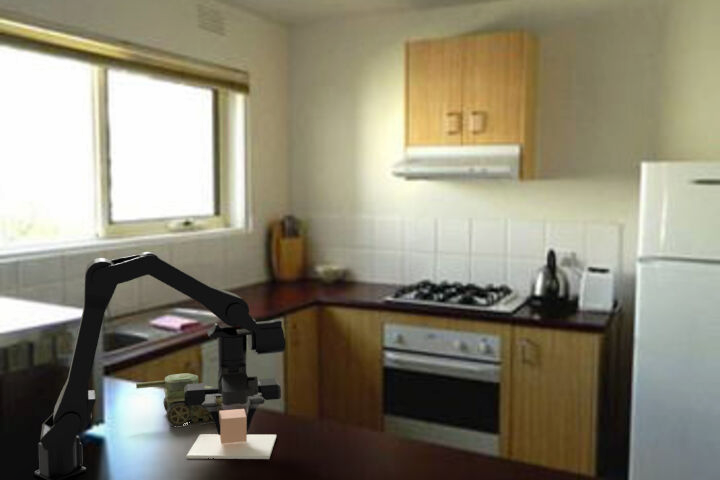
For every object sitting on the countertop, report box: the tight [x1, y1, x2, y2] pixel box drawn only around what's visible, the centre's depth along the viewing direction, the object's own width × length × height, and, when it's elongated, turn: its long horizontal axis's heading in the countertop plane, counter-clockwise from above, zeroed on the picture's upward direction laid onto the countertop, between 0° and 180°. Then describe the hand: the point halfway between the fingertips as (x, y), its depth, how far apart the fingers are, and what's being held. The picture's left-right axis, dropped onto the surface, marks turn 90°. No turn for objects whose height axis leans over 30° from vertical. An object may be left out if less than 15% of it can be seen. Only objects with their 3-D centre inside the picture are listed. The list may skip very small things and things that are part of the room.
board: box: [186, 433, 277, 460], centre depth 136 cm, size 16×11×1 cm
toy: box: [136, 372, 224, 428], centre depth 152 cm, size 10×18×10 cm, turn 111°
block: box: [219, 408, 248, 444], centre depth 136 cm, size 5×5×5 cm
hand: (232, 433), depth 136 cm, fingers closed on block, 5 cm apart
